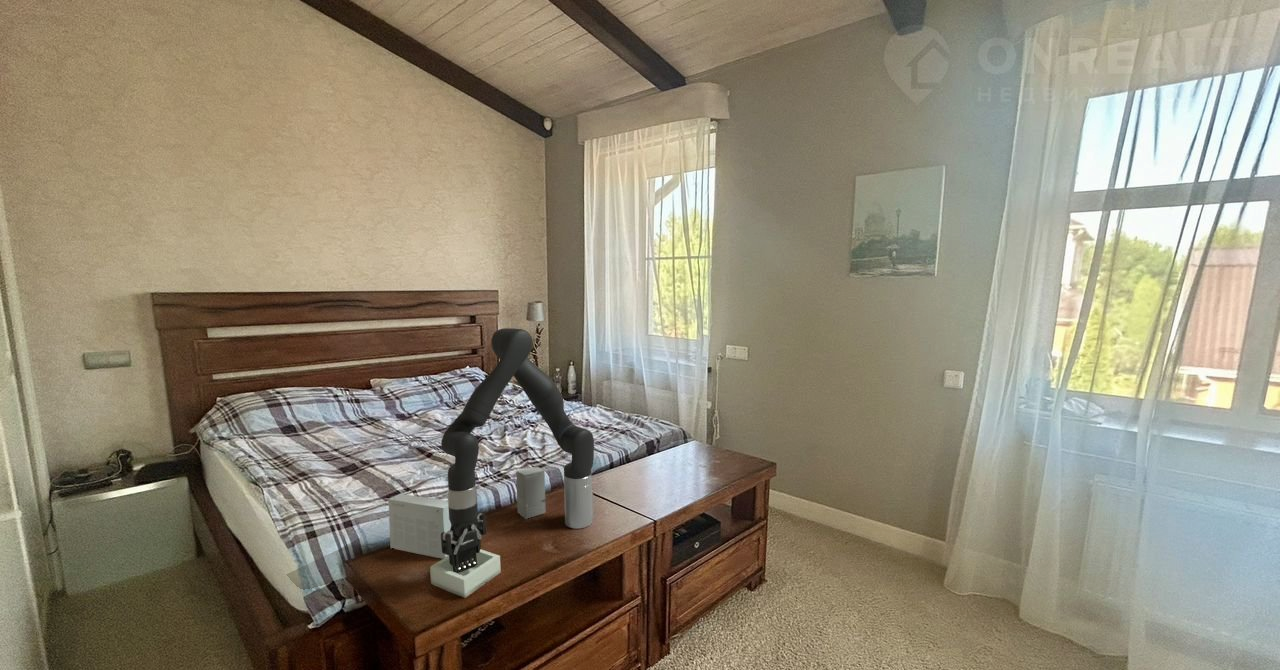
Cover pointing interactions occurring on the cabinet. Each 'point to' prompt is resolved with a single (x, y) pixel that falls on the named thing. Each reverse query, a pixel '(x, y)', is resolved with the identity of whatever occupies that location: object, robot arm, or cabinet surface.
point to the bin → (465, 574)
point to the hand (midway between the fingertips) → (465, 558)
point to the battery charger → (466, 551)
